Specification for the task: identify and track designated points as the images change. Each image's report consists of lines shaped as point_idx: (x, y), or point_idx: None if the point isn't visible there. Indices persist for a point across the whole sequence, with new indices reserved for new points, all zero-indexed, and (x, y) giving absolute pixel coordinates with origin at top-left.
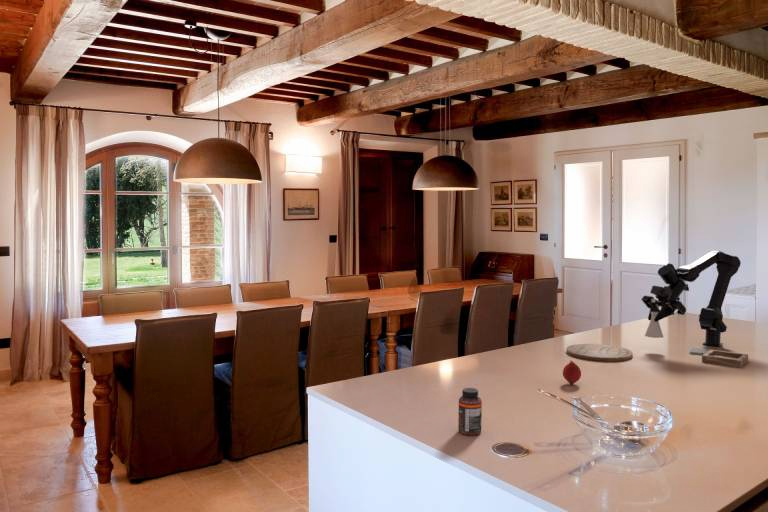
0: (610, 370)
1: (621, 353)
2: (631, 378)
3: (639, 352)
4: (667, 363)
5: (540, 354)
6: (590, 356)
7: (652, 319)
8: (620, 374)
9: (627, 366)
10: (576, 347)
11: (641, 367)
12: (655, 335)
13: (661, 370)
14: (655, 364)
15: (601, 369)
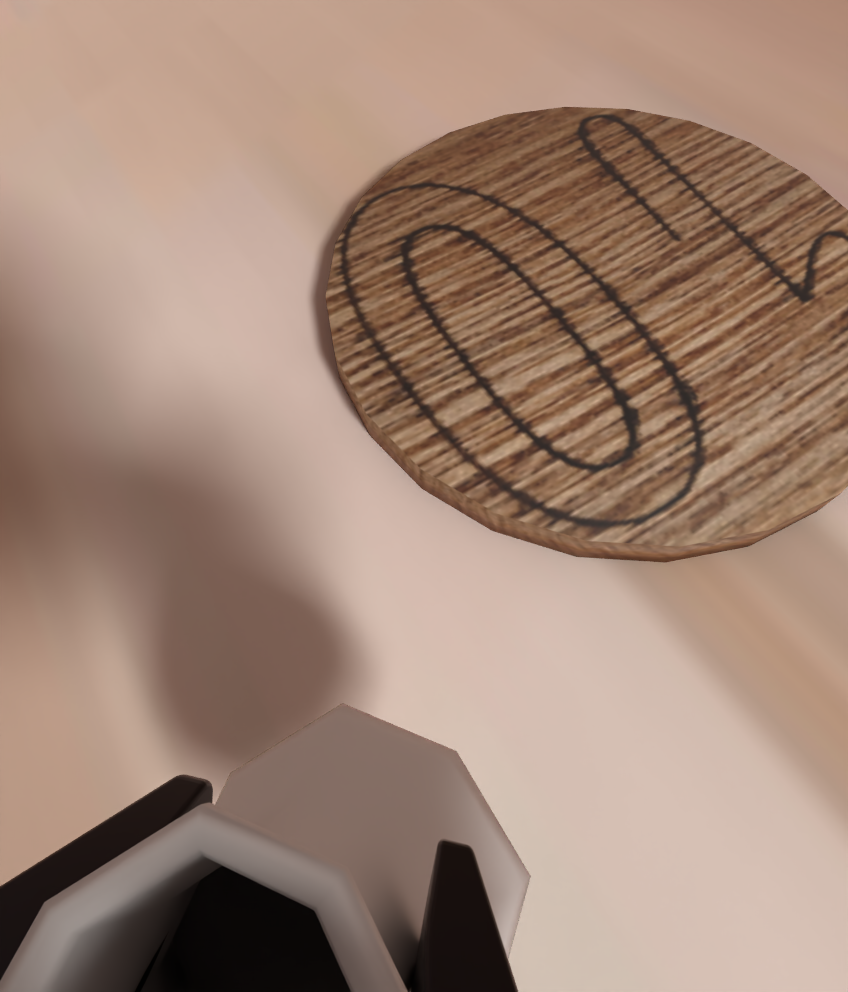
0: (256, 80)
1: (420, 330)
2: (91, 51)
3: (450, 665)
4: (33, 476)
5: (773, 56)
6: (491, 119)
7: (288, 826)
8: (171, 64)
9: (232, 196)
10: (786, 229)
11: (149, 237)
12: (252, 767)
13: (5, 270)
14: (104, 372)
15: (303, 65)
